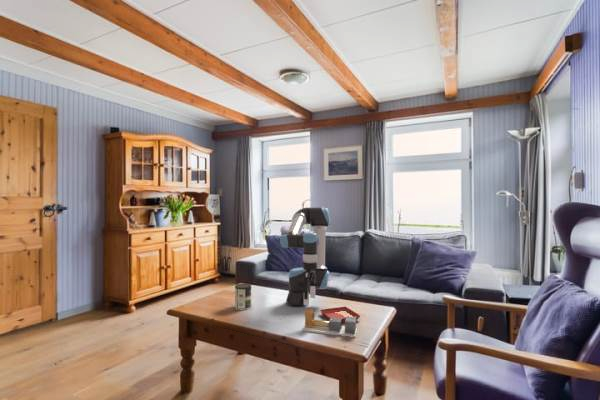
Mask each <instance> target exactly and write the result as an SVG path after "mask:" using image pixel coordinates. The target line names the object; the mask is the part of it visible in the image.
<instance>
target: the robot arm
mask: <svg viewBox="0 0 600 400" xmlns="http://www.w3.org/2000/svg"><path fill="white" fill-rule="evenodd" d="M305 225H310V228H311V229H312V232H304V233H303V234H301V232H302V230H303V228H304V226H305ZM329 225H331V216H330V211H329V208H327V207H321V206H320V207H303V208H301V209H298V210H297V211H296V212H295V213H294V214H293V216H292V218H291V223H290V225H289V228H288V230H287V233H284V234H281V236H280V239H279V242H280V243H279V244H280V247H281V248H287V249H289V248H290V249H291V248H292V249H293V248H294V249H303V250H302V254H303V255H302V254H301V255H302V256H301V257H302V261H303V262H302V267H294V268H292V269H290V270H288V271H289V272H288V293H287V296H286V299H285V300H286V301H285V302H286V303H285V304H286V305H287V306H289V307H295V308H301V307H307V306H310V299H316V290H325V289H327V287H328V284H329V281H330V279H329V278H330V271H329V270H328V267H327V266H326V232H327V231H326V230H327V229H328V228H329ZM309 291H310V292H309Z"/></svg>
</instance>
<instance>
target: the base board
mask: <svg viewBox="0 0 600 400" xmlns="http://www.w3.org/2000/svg"><path fill="white" fill-rule="evenodd" d="M357 329H358V328H357V327H356V332H355V334H347V333H345V325H344V326H343V325H342V328H340V332H336V331H329V328H325V327H317V326H313V327H306V326H305V325H304V326H303V328H302V332H305V333H307V332H308V333H315V334H323V335H329V334H330V336H331V335H332V336H337V335H341V336H340V337H345V336H350V337H349V338H353V337H355V338H356V337H357V334H358V330H357ZM356 333H357V334H356Z"/></svg>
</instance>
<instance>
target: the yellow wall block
mask: <svg viewBox="0 0 600 400" xmlns="http://www.w3.org/2000/svg"><path fill="white" fill-rule="evenodd" d="M304 326H306V327H313V326H317V327H325V328H329V320H319V319H315V309H312V308H311V309H310V308H307V309H306V310H305V311H304Z"/></svg>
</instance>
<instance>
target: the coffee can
mask: <svg viewBox="0 0 600 400" xmlns="http://www.w3.org/2000/svg"><path fill="white" fill-rule="evenodd" d="M234 290H235V292H234V295H235V296H234V298H235V299H234V301H235V303H234V306H235V307H234V309H235V310H238V311H247V310H250V309H251V308H252V284H250V283H238V284H236V285H234Z"/></svg>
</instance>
